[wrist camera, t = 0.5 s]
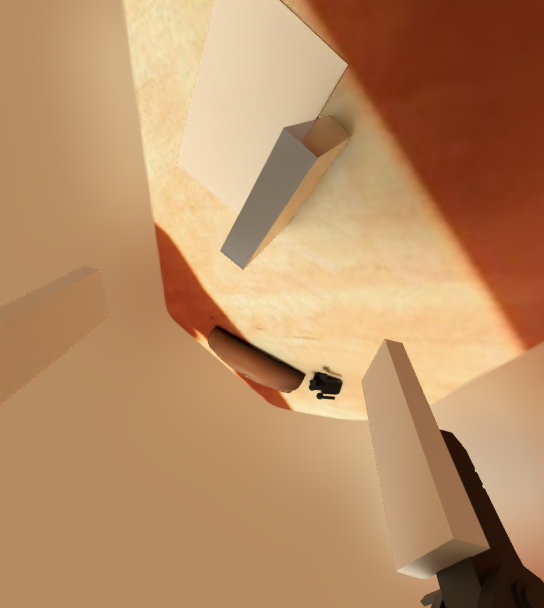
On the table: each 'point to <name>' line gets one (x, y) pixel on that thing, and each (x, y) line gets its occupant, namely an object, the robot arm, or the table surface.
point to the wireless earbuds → (325, 385)
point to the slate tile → (284, 185)
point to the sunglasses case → (254, 363)
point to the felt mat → (252, 93)
